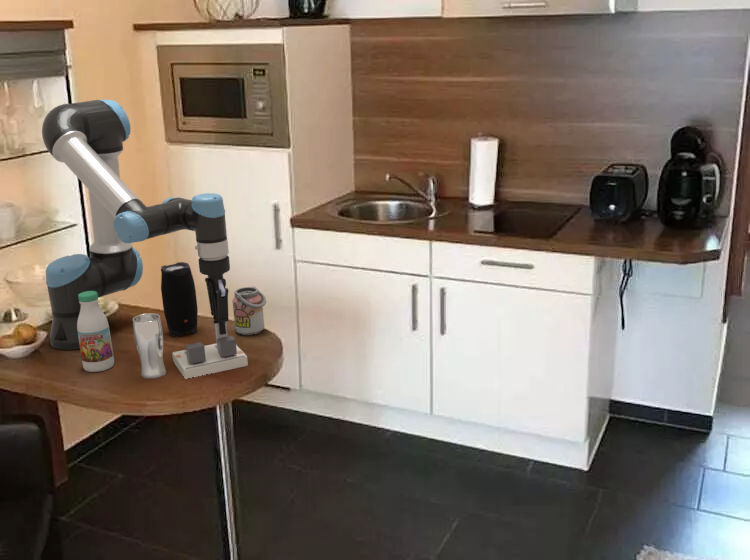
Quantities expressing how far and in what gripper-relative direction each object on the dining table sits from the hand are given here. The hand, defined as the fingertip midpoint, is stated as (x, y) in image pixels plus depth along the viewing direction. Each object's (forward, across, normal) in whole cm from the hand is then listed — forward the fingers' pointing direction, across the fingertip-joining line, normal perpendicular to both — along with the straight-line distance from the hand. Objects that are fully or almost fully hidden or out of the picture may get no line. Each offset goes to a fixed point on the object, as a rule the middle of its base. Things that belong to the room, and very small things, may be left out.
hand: (222, 344), depth 213 cm
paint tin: (+5, -16, +12) cm, 21 cm away
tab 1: (+1, +4, -8) cm, 9 cm away
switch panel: (+4, +1, -4) cm, 6 cm away
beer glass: (+4, 0, -18) cm, 19 cm away
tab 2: (+1, +4, 0) cm, 4 cm away
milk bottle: (+5, -13, -29) cm, 32 cm away
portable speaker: (+5, -26, -4) cm, 27 cm away
